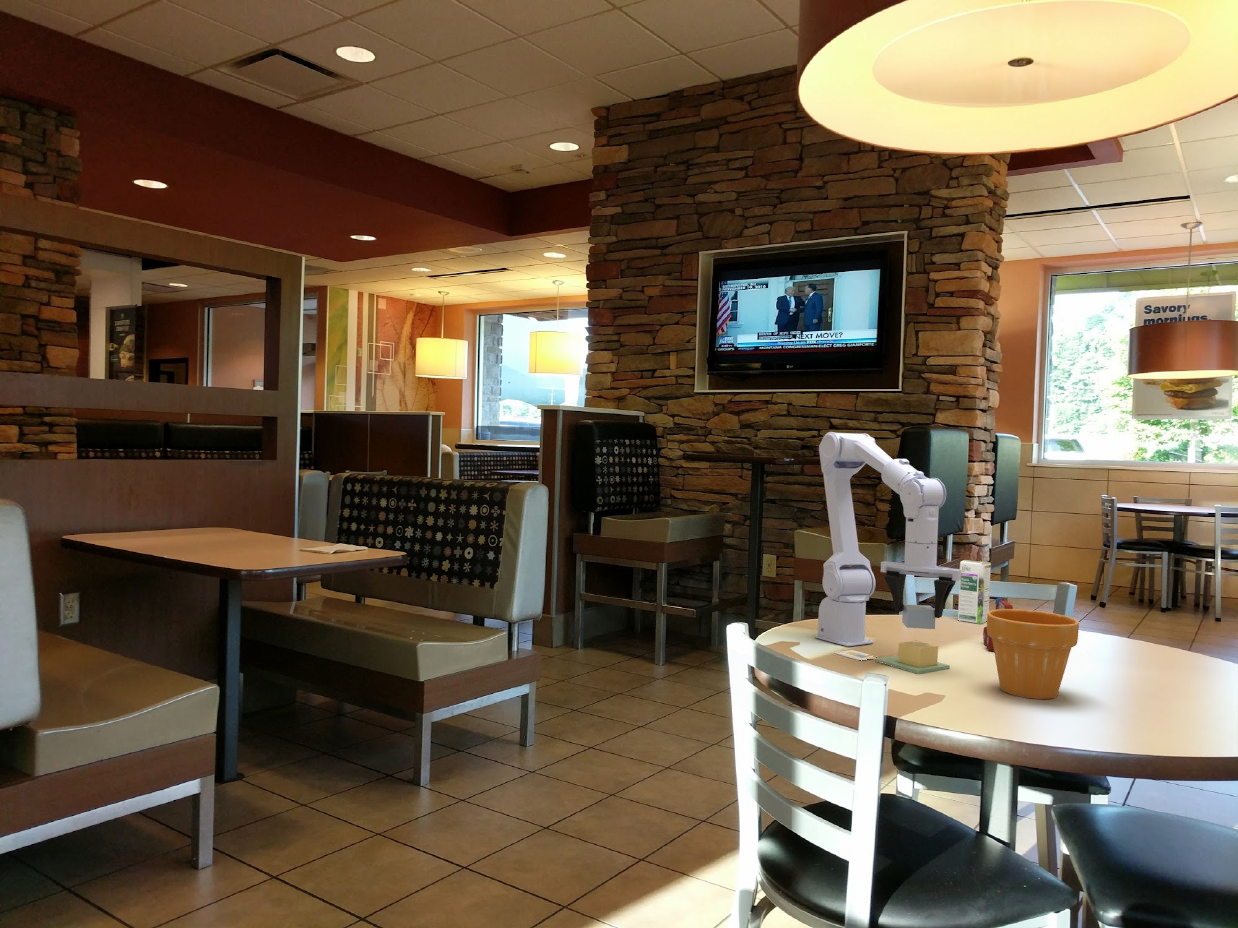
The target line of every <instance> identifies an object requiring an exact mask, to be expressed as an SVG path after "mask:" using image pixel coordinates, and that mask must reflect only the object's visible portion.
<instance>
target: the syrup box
mask: <svg viewBox="0 0 1238 928" xmlns="http://www.w3.org/2000/svg"><path fill="white" fill-rule="evenodd" d="M991 564H992V563H991V562H985V561H979V560H978V561H976V560H969V559H964V560H961V561H960V563H959V569H961V580H958V582H959V584H958V588H959V589H958V604H957V605H958V608H957V609H958V610H957V621H958V620H959V621H958V622H965V623H971V624H972V623H973V624H978V625H982V624H985V623H987V622H986V621H987V613H988V612H989V611H990V594H991V593H990V592H991V591H990V590H991V588H990V587H991V569H992V565H991Z"/></svg>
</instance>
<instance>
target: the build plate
mask: <svg viewBox="0 0 1238 928" xmlns="http://www.w3.org/2000/svg"><path fill="white" fill-rule="evenodd" d="M875 660H876V661H878V662H883V663H886V664H888V665H892V666H894V667H893V668H895V667H897V668H896V669H899V668H902V669H903V670H904V671H906V670H908V671H907V672H909V671H912V672H911V673H913V672H914V674H916V673H918V674H917V675H920V674H919V673H921V674H926V673H930V672H929V671H933V672H938V671H942V670H943V669H944V670H948V669H947V668H950V667H951V666H950V664H946V663H942V662H939V661H937V665H931V666H925V667H917V666H913V665H910V664H906V663H902V662H899V661H898V655H891V656H884V657H880V658H876V659H874V661H875ZM888 665H887V666H888ZM892 666H891V667H892ZM902 669H901V670H902ZM950 669H951V668H950ZM937 670H938V671H937ZM944 670H943V671H944Z"/></svg>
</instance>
